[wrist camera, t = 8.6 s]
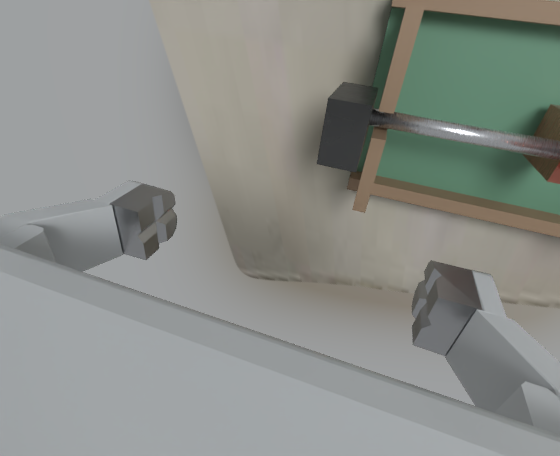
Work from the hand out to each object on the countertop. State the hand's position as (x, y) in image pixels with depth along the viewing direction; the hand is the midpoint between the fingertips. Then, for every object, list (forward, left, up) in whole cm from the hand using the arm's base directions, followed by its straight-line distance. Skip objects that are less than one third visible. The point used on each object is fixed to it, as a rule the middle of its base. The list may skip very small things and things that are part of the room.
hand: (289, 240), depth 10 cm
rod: (-7, 0, -22) cm, 24 cm away
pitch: (-11, 0, -25) cm, 28 cm away
